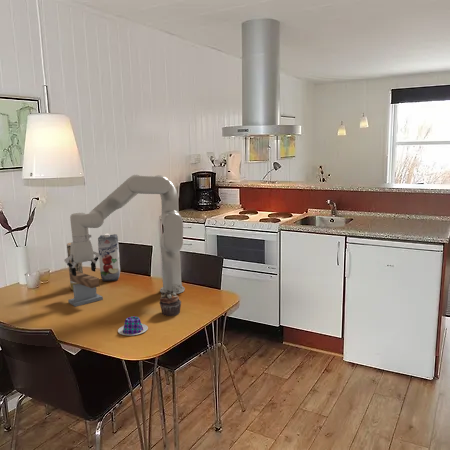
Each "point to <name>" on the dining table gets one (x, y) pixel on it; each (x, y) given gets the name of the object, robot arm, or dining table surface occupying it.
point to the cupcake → (170, 303)
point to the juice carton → (109, 257)
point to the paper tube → (77, 266)
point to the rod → (85, 279)
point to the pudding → (132, 326)
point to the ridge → (84, 295)
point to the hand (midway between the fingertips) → (84, 273)
